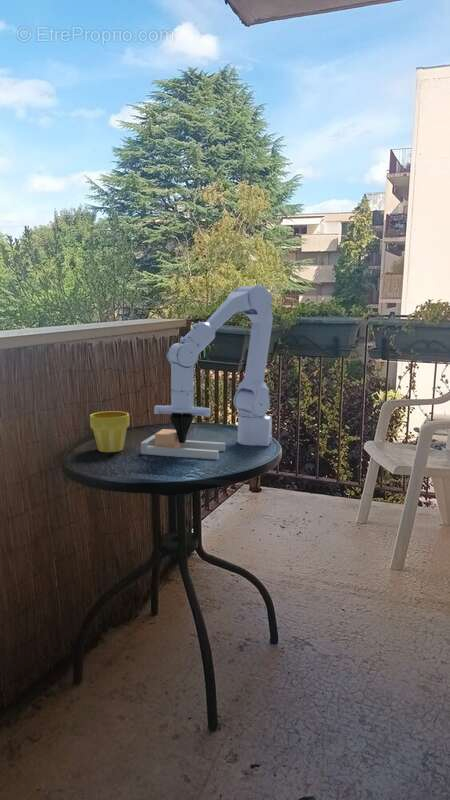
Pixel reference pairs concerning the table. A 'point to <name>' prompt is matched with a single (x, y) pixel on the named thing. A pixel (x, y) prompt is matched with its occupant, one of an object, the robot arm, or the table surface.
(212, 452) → the chute
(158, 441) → the block
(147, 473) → the table surface
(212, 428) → the table surface
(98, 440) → the plant pot
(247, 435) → the robot arm
